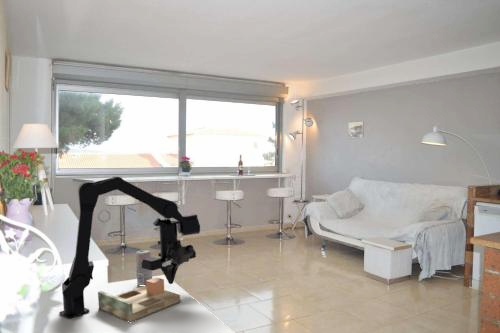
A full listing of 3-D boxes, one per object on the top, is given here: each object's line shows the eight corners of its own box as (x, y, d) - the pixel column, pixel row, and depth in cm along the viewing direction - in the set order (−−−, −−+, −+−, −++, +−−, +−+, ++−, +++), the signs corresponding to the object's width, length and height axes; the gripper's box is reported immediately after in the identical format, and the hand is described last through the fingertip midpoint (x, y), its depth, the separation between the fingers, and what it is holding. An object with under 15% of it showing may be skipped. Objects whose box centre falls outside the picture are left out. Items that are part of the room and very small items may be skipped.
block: (146, 292, 127) (145, 280, 127) (156, 289, 130) (156, 277, 130) (154, 295, 125) (153, 282, 125) (164, 291, 128) (163, 279, 128)
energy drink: (148, 280, 147) (146, 248, 147) (155, 283, 143) (153, 250, 143) (134, 284, 144) (132, 251, 143) (141, 287, 140) (139, 254, 139)
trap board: (98, 309, 122) (97, 291, 122) (148, 291, 136) (147, 275, 135) (130, 323, 111) (129, 304, 111) (180, 302, 125) (179, 285, 124)
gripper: (160, 246, 119) (163, 297, 120) (205, 234, 134) (207, 280, 134) (139, 242, 127) (141, 290, 127) (184, 231, 141) (186, 274, 142)
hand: (171, 283), depth 132 cm, fingers closed
